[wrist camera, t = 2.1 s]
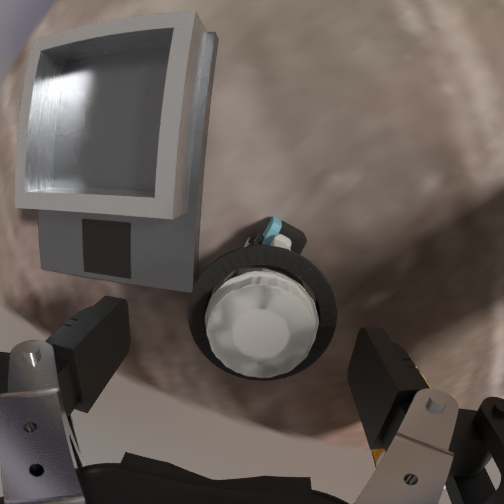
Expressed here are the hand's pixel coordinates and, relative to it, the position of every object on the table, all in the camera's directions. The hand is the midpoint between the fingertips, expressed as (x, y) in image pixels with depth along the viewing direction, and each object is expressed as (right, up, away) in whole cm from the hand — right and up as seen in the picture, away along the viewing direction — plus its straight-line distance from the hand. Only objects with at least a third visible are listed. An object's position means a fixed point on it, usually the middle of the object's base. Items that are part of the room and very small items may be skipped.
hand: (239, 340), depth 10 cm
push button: (+1, +2, +10) cm, 10 cm away
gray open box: (-8, +9, +8) cm, 15 cm away
